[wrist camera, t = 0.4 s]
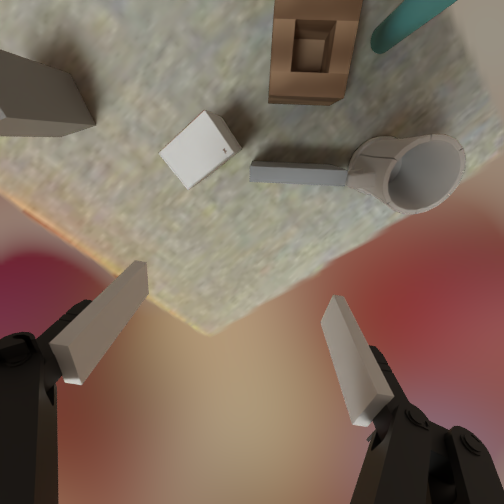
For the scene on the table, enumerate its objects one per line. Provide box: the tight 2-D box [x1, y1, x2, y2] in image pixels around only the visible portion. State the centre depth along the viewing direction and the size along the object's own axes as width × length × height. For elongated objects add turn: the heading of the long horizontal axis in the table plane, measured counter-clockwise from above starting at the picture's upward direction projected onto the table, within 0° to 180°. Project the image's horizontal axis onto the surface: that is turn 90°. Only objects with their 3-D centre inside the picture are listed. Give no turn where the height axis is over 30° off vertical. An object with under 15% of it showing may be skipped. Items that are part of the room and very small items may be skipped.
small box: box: [158, 110, 242, 190], centre depth 30 cm, size 8×6×10 cm
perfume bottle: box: [0, 50, 96, 137], centre depth 25 cm, size 7×7×18 cm
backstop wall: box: [250, 161, 348, 186], centre depth 32 cm, size 2×13×8 cm, turn 88°
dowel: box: [371, 0, 457, 54], centre depth 23 cm, size 3×3×12 cm
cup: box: [345, 134, 466, 214], centre depth 30 cm, size 10×9×12 cm
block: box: [268, 0, 363, 106], centre depth 27 cm, size 9×9×6 cm
